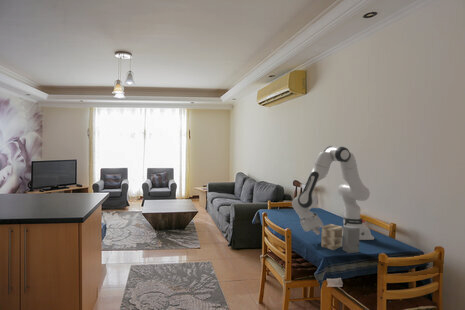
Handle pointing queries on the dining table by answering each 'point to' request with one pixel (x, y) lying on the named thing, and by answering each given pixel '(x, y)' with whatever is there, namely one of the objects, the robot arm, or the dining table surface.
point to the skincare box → (351, 239)
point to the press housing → (331, 236)
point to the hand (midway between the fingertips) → (318, 234)
